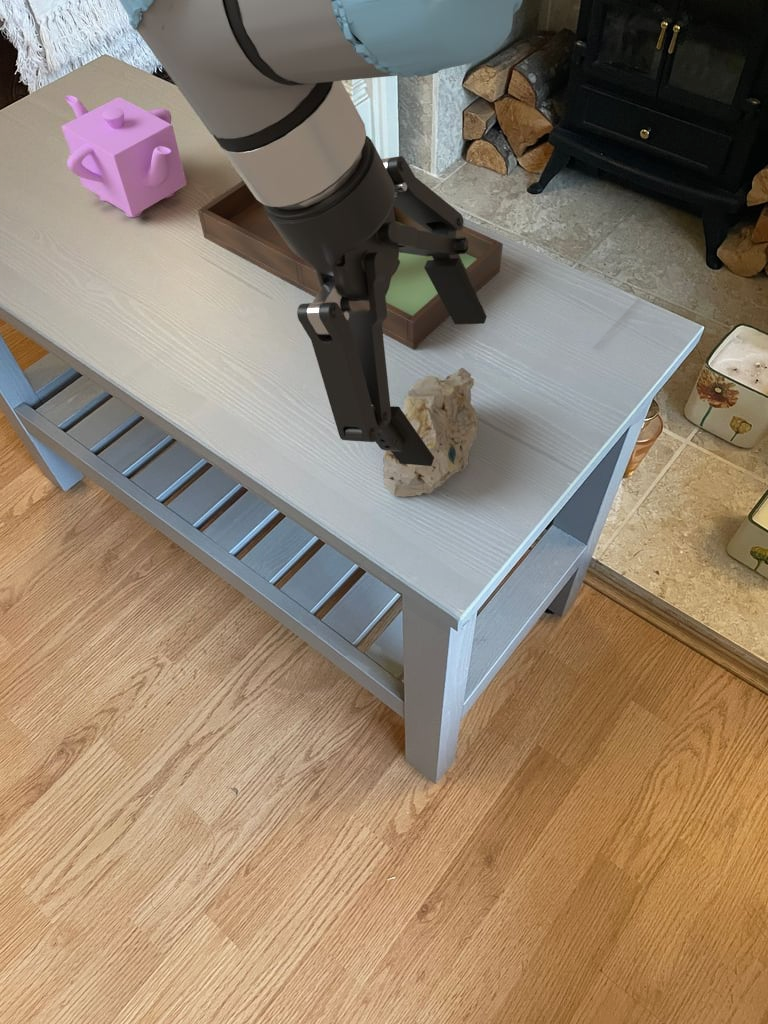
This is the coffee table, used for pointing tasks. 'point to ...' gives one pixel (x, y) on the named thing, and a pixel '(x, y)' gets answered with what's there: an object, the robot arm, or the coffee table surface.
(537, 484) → the coffee table surface
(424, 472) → the rock
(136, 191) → the teapot
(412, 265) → the divided wooden tray
